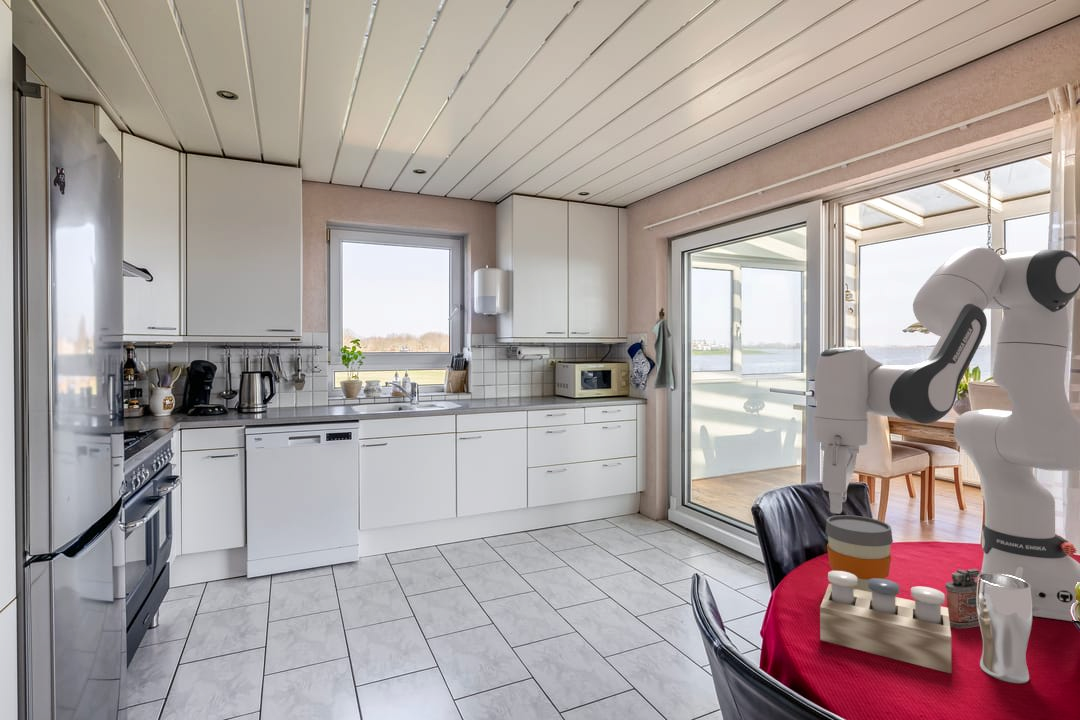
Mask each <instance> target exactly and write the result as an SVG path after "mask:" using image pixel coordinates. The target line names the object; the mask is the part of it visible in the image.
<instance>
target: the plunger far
mask: <svg viewBox="0 0 1080 720" xmlns="http://www.w3.org/2000/svg"><path fill="white" fill-rule="evenodd" d="M827 580H828V582H830V583H831V584H832V601H834V602H839V603H843V604H848V605H853V606H854V586H856V585H857V577H856V576H855V575H853V574H851V573H848V572H844V571H833V570H830V571H829V572H827Z"/></svg>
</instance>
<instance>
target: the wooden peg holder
mask: <svg viewBox="0 0 1080 720" xmlns="http://www.w3.org/2000/svg"><path fill="white" fill-rule="evenodd" d="M824 593H825V594H824V596H823V599H822V602H821V604H820V606H819V621H820V622H819V627H820V628H819V631H820V633H819V634H820V635H819V636H820V637H819V638H820V639H819V640H820V641H822V642H827V643H830V644H834V645H838V646H843V647H846V648H850V649H853V650H859V651H862V652H866V653H870V654H873V655H876V656H881V657H885V658H890V659H893V660H896V661H901V662H905V663H909V664H913V665H917V666H921V667H923V668H929V669H932V670H935V671H940V672H944V673H947V674H952V631H951V626H950V622H949V613H948V608H947V606H946V607H945V606H942V605H941V625H940V624H935V623H931V622H926V621H921V620H917V619H915V600H911V599H907V598H902V597H897V596H895V600H896V615H894V614H889V613H885V612H880V611H876V610H872V592H868V591H863V590H858V589H854V606H853V605H848V604H843V603H839V602H834V601H832V583H828V586H827V588H826V590H825V592H824Z"/></svg>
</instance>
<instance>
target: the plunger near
mask: <svg viewBox="0 0 1080 720" xmlns="http://www.w3.org/2000/svg"><path fill="white" fill-rule="evenodd" d="M910 596H911V597H912V598H913V599H914V601H915V619H917V620H921V621H926V622H931V623H935V624H940V625H941V606H942V605H943V604H945V603H946V594H945V593H944V592H942V591H940V590H939V589H937V588H933V587H929V586H920V585H919V586H918V585H917V586H912V587H911V588H910Z"/></svg>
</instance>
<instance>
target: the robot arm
mask: <svg viewBox="0 0 1080 720" xmlns="http://www.w3.org/2000/svg"><path fill="white" fill-rule="evenodd" d="M1079 289H1080V260H1079V258H1077V257H1076V256H1075V254H1073V253H1072V252H1070V251H1069V250H1063V249H1042V250H1039V251H1023V252H1013V253H1006V254H1004V255H1000V254H998V252H996V251H995V250H993V249H990V248H988V247H982V246H971V247H970V246H969V247H966V248H963V249H961V250H959V251H957V252H956V253H955V254H953V255H952V256H951V257H949V258H948V259H947V260H946V261H944V263H943V264H942V265H940V266H939V267H938V268H937V270H936V271H934V273H932V275H931V276H930V277H928V279H927V280H926V282H925V283H924V284H923V286H921V288H920V289H919V290H918V292H917V294H916V295H915V298H914V300H913V303H912V309H913V310H912V311H913V313H914V317H915V318H916V320H917V321H918V323H919V324H920V325H921V326H922V327H923V328H924V329H926V330H927V331H928V332H930V333H931V334H934V335H936V336H938V337H939V338H938V341H937V343H935V344H936V345H935V346H934V348H933V349H932V351H931V353H930V355H929V357H928V358H927V359H926V360H924V361H922V362H919V363H916V364H911V365H900V364H899V365H896V364H895V365H894V364H893V365H892V364H884V363H883V362H879V361H877V360H876V359H874V358H872V357H871V356H870V355H868V354H867V353H866V349H864V347H861V346H858V345H857V346H856V345H855V346H854V345H848V346H847V345H846V346H837V347H832V348H828V349H824V351H822V352H820V354H819V356H818V358H817V361H816V365H815V370H814V371H815V373H814V374H815V375H814V391H813V392H814V396H815V400H816V407H815V410H814V413H813V441H815V442H817V443H820V450H821V451H822V452H823V456H822V457H823V458H822V459H823V460H822V482H821V485H822V488H823V490H824V491H826V492H828V497H829V502H830V503H829V510H830V513H832V514H838V515H840V514H842V512H843V503H845V502H846V501H847V491H848V487H849V484H850V482H851V480H852V477H853V475H854V472H855V466H856V462H857V461H856V460H857V455H858V454H859V453H860V446H867V444H868V425H869V423H868V414H870V415H877V416H882V417H890V418H897V419H903V420H906V421H911V422H915V423H918V424H919V423H920V424H924V425H925V424H932V423H933V424H934V423H936V422H938V421H940V420H941V419H943V418H944V417H945V416H946V415H947V414H948V413H949V412H950V411H951V410H952V408H953V407H954V404H955V401H956V398H957V395H958V390H959V387H960V384H961V381H962V380H963V378H964V376H965V373H966V371H967V370H968V368H969V365H970V364H971V362H972V361H973V358H974V356H975V355H976V352H977V350H978V348H979V346H980V345H981V342H982V340H983V338H984V336H985V333H986V330H987V326H988V325H987V324H988V323H987V322H988V321H987V317H986V313H985V312H984V311H985V309H986V310H987V309H988V310H989V309H991V310H993V309H994V310H1002V312H1003V317H1002V319H1001V324H1000V326H999V331H998V335H997V342H996V349H995V354H994V355H995V356H994V363H993V370H992V380H993V381H994V383H995V385H996V386H998V387H999V388H1001V390H1003V391H1005V392H1006V394H1007V395H1008V398H1009V400H1010V404H1011V410H1007V409H1006V410H1005V409H997V408H985V409H976V410H968V411H965V412H963V413H961V414H960V415H959V417H957V419H956V421H955V423H954V426H953V437H954V440H955V443H956V445H958V447H960V448H961V449H962V450H963V451H964V452H965V453H966V454H967V456H968V457H969V458H970V459H971V462H972V463H973V465H974V467H975V469H976V471H977V473H978V475H979V479H980V482H981V484H982V485H981V486H982V490H983V496H984V497H983V498H984V500H983V501H984V515H985V516H984V521H985V522H984V524H983V525H982V530H981V547H982V551H983V559H982V566H981V569H980V573H985V572H992V573H1001V574H1006V575H1010V576H1014V577H1017V578H1020V579H1022V580H1024V581H1026V582H1028V583H1029V584H1030V585H1031V596H1032V608H1033V617H1038V618H1039V617H1040V618H1044V619H1045V618H1047V619H1054V620H1061V621H1068V622H1073V621H1072V617H1071V613H1070V609H1071V606H1072V604H1073V603H1075V602H1076V593H1075V586H1076V584H1077V582H1080V562H1078V561H1077V560H1076V559H1075V558H1073V557H1071V556H1073V555H1075V554H1076V553H1077V548H1076V547H1075V546H1074V544H1073V543H1072V542H1069V540H1067V539H1066V538H1063V536H1061V534H1060V535H1058V534H1056V500H1055V498H1054V496H1053V494H1052V493H1051V492H1050V490H1048V489H1047V488H1046V487H1045V486H1044V485H1042V484H1041V483H1040V482H1039V481H1038V480H1037V479H1038V478H1036V477H1035V475H1034V473H1033V471H1032V469H1031V468H1035V469H1039V470H1043V471H1050V472H1051V471H1056V472H1068V471H1069V472H1075V471H1080V418H1079V417H1078V416H1077V414H1076V413H1075V412H1074V410H1073V409H1072V407H1071V405H1070V402H1069V400H1068V398H1067V393H1066V390H1065V389H1066V388H1065V376H1066V375H1065V374H1066V363H1067V355H1068V354H1067V353H1068V345H1069V336H1070V335H1069V333H1070V332H1069V314H1068V309H1067V305H1068V304H1069V302H1070V301H1071V300H1072V299H1073V298H1074V297H1075V296H1076V294H1077V293H1078V292H1079Z"/></svg>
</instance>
